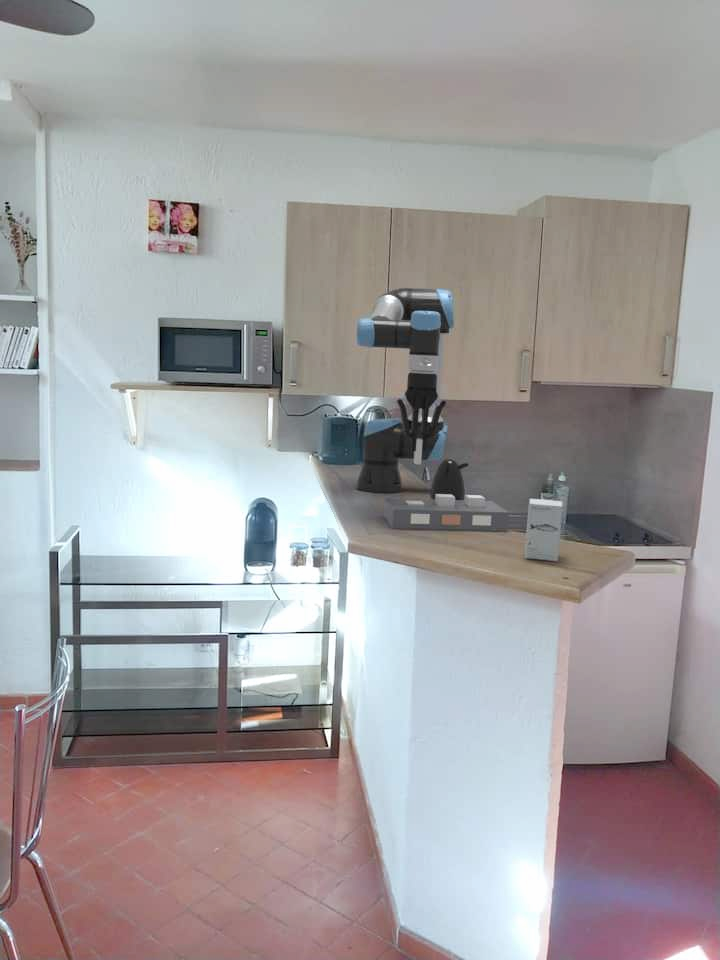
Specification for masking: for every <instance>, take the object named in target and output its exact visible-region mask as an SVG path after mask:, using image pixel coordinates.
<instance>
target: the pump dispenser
mask: <svg viewBox="0 0 720 960" xmlns="http://www.w3.org/2000/svg"><path fill="white" fill-rule="evenodd" d="M468 466H469V462H465V463H460V464H459V463H458V461H456V460H455V459H453V458H446V459H444V460H442V461H441V462H440V464H439V466H438V468H436V472H435V474H434V477H433V479H432V483H431V487H430V492H429V499H435V494H451V495H453V496H454V497H455V500H464V499H465V495H467V494H466V493H467V492H466V484H465V483H466V482H465V478H464V475H463V471H462V469H465V468H467V467H468Z"/></svg>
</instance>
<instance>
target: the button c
mask: <svg viewBox="0 0 720 960" xmlns="http://www.w3.org/2000/svg"><path fill="white" fill-rule="evenodd" d="M485 501H486V498H485V497H484V496H483V495H479V494H478V495H475V494H466V495H465V499H464V505H465V506H466V507H470V508H485Z"/></svg>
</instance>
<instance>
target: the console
mask: <svg viewBox="0 0 720 960" xmlns="http://www.w3.org/2000/svg"><path fill="white" fill-rule="evenodd" d="M383 498H384V499H383V513H382V515H383V518H384V519H385V521H386V522H387V523H388V525H389V527H390V528H391V529H392V530H426V531H431V530H432V531H435V530H436V531H440V530H441V531H473V532H474V531H475V532H499V531H498V530H501V531H500V532H508V528H509V526H508V525H509V516H510V515H509V513H510V512H509V511H508V510H506V509H504V508H503V507H501V506H500V505H499V504H497V503H495V502H494V501H492V500H485V508H470V507H466V506H465V505H464V500H455V507H437V506H436V505H435V499H431V498H425V499H423V498H393V497H389V498H388V497H383ZM405 501H422V502H423V503H424V504H425V506H407V505H406V504H405ZM494 529H495V530H494Z"/></svg>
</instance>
